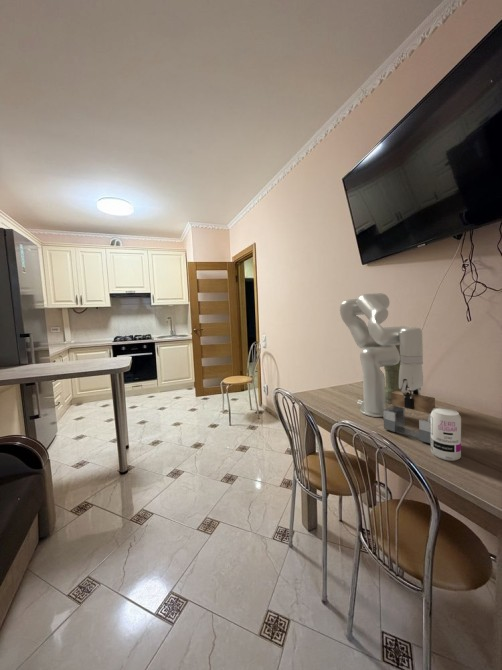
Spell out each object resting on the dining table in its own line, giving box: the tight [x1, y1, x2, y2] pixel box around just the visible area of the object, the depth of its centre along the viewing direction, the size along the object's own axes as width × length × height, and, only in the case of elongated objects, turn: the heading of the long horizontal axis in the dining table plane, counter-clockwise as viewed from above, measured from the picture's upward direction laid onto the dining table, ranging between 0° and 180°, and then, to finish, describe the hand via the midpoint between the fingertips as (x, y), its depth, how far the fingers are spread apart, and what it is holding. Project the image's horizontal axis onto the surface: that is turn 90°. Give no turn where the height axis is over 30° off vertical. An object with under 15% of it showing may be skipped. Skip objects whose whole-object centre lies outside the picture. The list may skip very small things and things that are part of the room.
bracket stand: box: [383, 405, 431, 445], centre depth 105 cm, size 19×8×8 cm, turn 35°
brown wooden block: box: [391, 391, 436, 415], centre depth 104 cm, size 14×4×5 cm, turn 35°
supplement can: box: [430, 407, 462, 462], centre depth 89 cm, size 8×8×15 cm
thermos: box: [383, 345, 402, 405], centre depth 140 cm, size 9×12×35 cm
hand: (412, 406), depth 104 cm, fingers closed on brown wooden block, 4 cm apart
